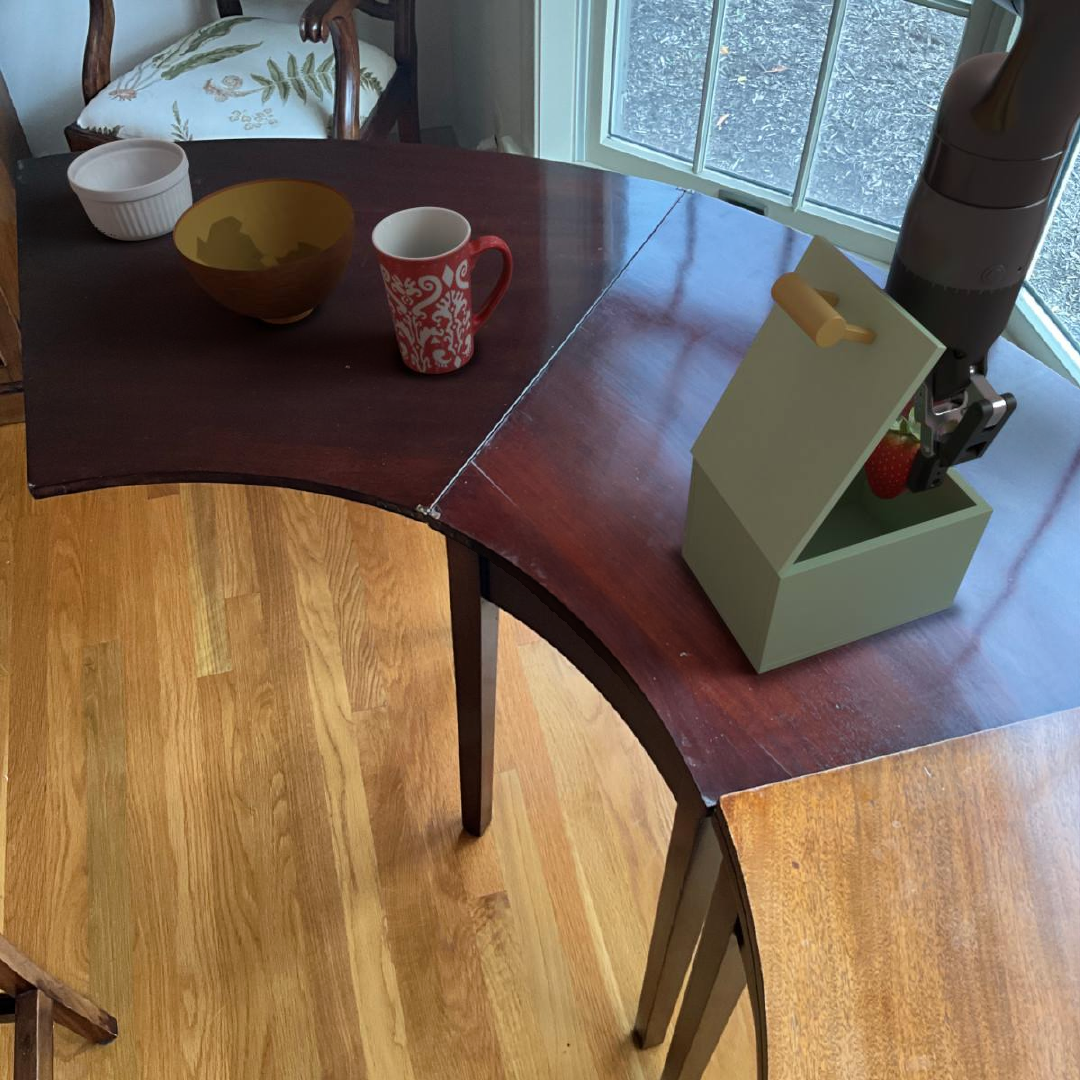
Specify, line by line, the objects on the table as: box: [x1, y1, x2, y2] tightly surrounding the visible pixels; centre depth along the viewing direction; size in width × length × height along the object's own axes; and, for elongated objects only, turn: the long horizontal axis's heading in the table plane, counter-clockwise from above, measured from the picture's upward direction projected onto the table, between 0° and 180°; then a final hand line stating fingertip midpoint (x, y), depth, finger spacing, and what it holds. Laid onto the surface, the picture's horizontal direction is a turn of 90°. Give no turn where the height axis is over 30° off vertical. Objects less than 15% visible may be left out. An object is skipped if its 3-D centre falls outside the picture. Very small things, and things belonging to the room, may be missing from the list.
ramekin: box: [66, 137, 193, 242], centre depth 117 cm, size 13×13×7 cm
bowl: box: [172, 177, 356, 325], centre depth 102 cm, size 18×18×10 cm
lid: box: [689, 233, 946, 574], centre depth 62 cm, size 17×13×5 cm
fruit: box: [864, 405, 944, 499], centre depth 71 cm, size 5×5×8 cm
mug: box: [371, 206, 514, 375], centre depth 95 cm, size 13×9×14 cm
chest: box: [681, 417, 995, 675], centre depth 74 cm, size 17×13×11 cm
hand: (896, 459), depth 71 cm, fingers closed on fruit, 5 cm apart
